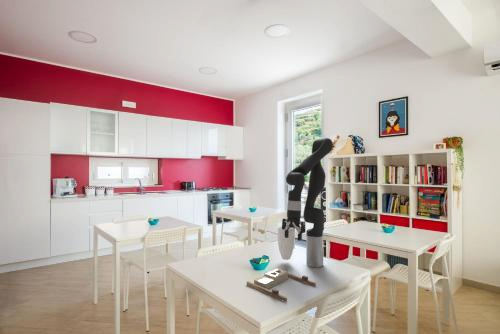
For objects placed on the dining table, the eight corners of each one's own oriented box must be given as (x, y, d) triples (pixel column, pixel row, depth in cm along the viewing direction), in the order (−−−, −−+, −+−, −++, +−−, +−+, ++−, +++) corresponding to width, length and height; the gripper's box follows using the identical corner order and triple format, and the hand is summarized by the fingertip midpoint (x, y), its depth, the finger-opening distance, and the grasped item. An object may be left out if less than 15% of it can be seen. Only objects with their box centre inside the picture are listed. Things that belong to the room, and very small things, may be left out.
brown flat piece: (278, 272, 152) (278, 266, 152) (316, 285, 135) (316, 279, 135) (246, 285, 136) (246, 278, 136) (284, 302, 118) (284, 295, 118)
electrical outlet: (254, 277, 135) (276, 267, 148) (254, 286, 135) (276, 275, 148) (265, 281, 130) (288, 271, 144) (265, 290, 130) (288, 279, 144)
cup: (296, 266, 161) (296, 229, 161) (278, 266, 161) (277, 228, 161) (293, 260, 171) (293, 225, 171) (276, 260, 172) (276, 225, 172)
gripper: (309, 210, 151) (307, 240, 150) (288, 207, 161) (286, 236, 160) (300, 210, 146) (299, 242, 145) (279, 208, 156) (278, 237, 155)
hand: (292, 239), depth 153 cm, fingers open, 8 cm apart
